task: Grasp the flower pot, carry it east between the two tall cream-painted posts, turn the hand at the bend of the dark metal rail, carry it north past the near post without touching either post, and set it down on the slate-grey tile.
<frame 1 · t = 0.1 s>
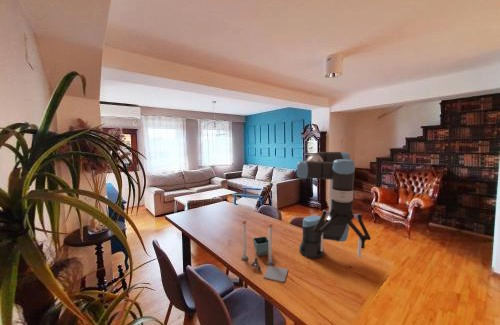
hand: (339, 252, 84), 28 cm above the table, fingers open, 13 cm apart
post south: (244, 258, 131), on the table
flower pot: (261, 253, 137), on the table
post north: (270, 263, 125), on the table
bent rail: (256, 262, 127), on the table
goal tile: (276, 274, 116), on the table
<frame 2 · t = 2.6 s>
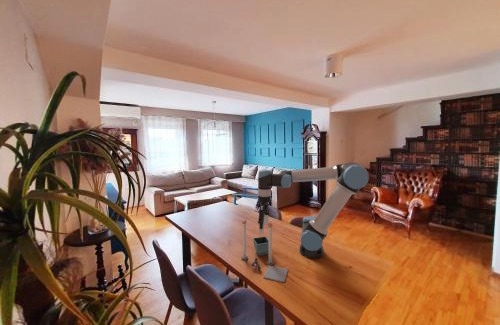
hand: (263, 229, 132), 17 cm above the table, fingers open, 13 cm apart
nothing on the table moved.
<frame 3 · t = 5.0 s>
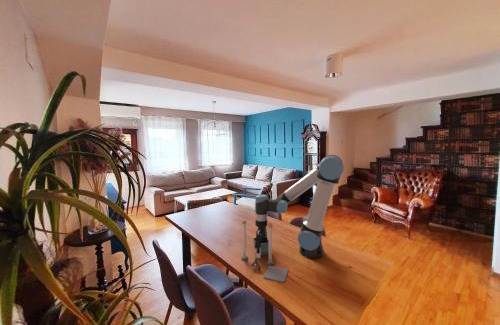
hand: (261, 252, 137), 1 cm above the table, fingers closed on flower pot, 11 cm apart
flower pot: (261, 253, 137), on the table, touching gripper
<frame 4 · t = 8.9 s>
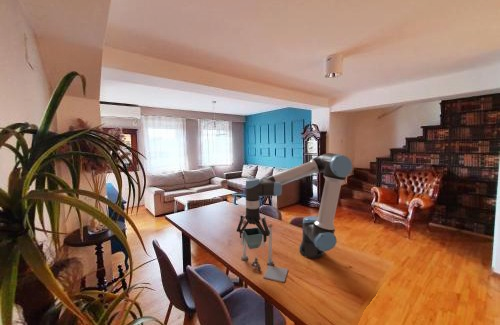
hand: (253, 245, 119), 14 cm above the table, fingers closed on flower pot, 11 cm apart
flower pot: (252, 247, 119), point 13 cm above the table, touching gripper
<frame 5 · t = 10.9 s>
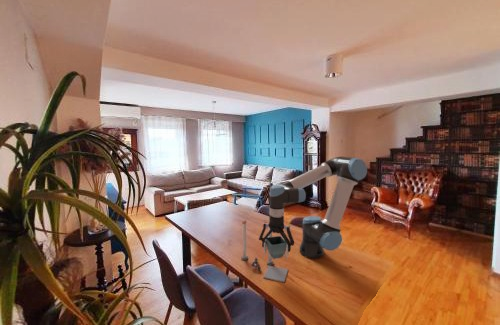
hand: (276, 254, 114), 11 cm above the table, fingers closed on flower pot, 11 cm apart
flower pot: (275, 256, 115), point 10 cm above the table, touching gripper
when the fingers open (3 cm above the table, at t = 12.8 s): flower pot drops 2 cm, resting on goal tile.
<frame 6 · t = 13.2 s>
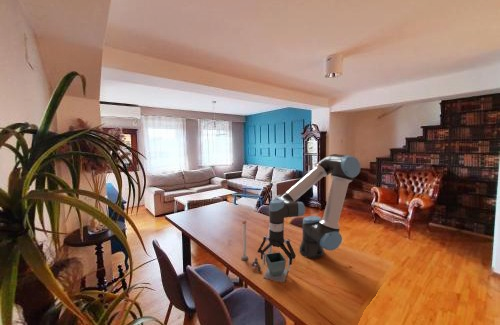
hand: (276, 267, 115), 4 cm above the table, fingers open, 13 cm apart
flower pot: (275, 273, 116), resting on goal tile
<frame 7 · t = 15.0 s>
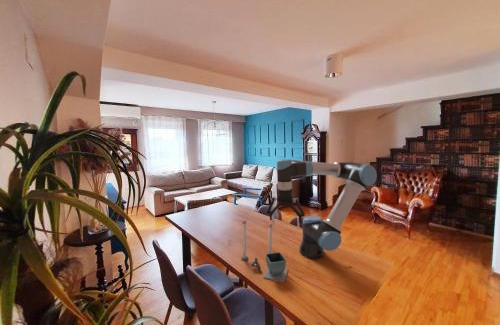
hand: (285, 227, 116), 25 cm above the table, fingers open, 13 cm apart
nothing on the table moved.
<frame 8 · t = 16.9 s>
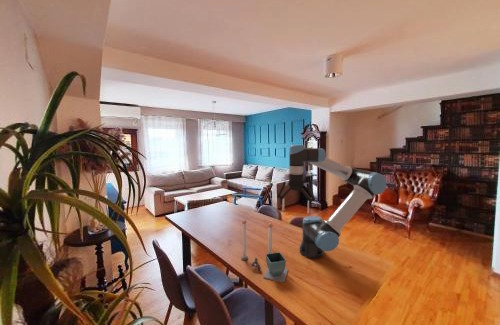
hand: (295, 211, 118), 33 cm above the table, fingers open, 13 cm apart
nothing on the table moved.
at the end: flower pot inside the target area on the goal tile (0.4 cm from its centre), point 0.4 cm above the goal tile's base; flower pot tilted 0°; flower pot touching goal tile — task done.
